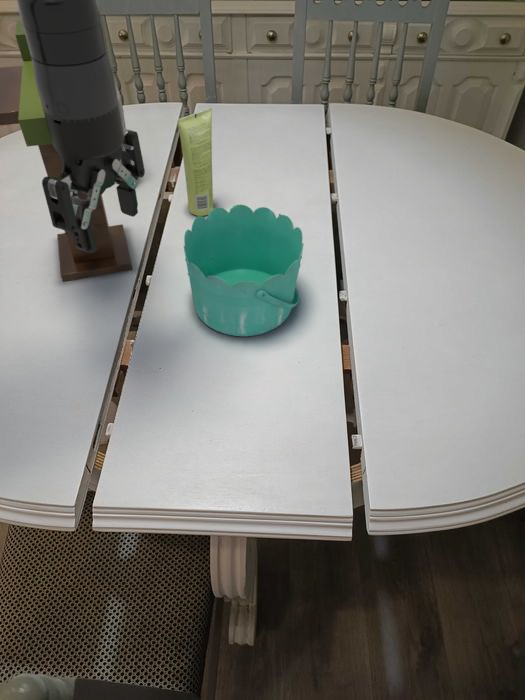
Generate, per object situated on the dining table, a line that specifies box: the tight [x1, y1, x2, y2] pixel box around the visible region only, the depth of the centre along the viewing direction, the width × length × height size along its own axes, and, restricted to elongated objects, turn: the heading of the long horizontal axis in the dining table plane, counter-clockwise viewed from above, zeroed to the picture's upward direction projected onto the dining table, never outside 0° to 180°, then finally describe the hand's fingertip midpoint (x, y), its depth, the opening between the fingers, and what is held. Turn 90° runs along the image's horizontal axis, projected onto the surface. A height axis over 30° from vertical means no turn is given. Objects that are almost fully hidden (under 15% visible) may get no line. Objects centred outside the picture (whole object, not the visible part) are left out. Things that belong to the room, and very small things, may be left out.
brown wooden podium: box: [0, 65, 133, 283], centre depth 83 cm, size 12×19×32 cm, turn 17°
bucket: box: [183, 204, 305, 337], centre depth 85 cm, size 19×18×13 cm
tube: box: [177, 107, 214, 217], centre depth 100 cm, size 6×5×20 cm
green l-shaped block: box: [14, 19, 53, 147], centre depth 63 cm, size 4×21×6 cm, turn 15°
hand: (109, 231), depth 66 cm, fingers open, 8 cm apart
